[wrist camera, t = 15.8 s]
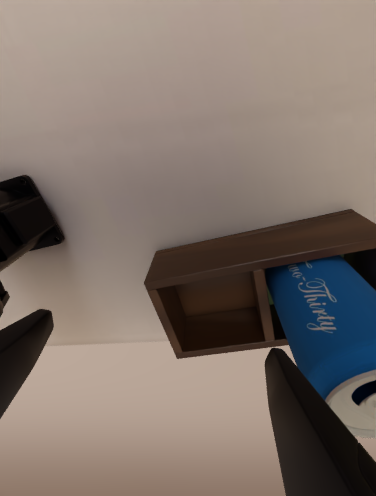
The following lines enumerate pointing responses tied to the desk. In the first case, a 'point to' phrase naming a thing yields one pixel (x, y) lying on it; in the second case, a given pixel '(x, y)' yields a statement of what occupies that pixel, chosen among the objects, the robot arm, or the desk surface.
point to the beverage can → (331, 334)
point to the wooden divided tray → (246, 280)
